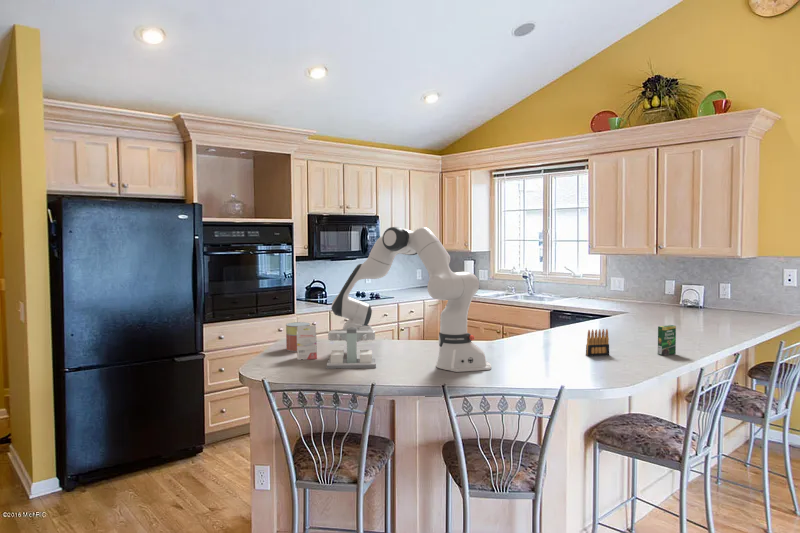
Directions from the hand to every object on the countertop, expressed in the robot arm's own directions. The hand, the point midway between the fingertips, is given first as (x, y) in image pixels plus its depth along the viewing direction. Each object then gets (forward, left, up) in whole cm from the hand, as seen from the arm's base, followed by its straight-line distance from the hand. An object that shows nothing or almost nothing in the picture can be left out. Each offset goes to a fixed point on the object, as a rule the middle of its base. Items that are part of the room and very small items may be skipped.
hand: (351, 338), depth 240 cm
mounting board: (0, +2, -11) cm, 11 cm away
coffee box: (-142, -9, -11) cm, 143 cm away
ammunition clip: (-110, -9, -11) cm, 111 cm away
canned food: (+26, -32, -11) cm, 43 cm away
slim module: (0, +1, -10) cm, 10 cm away
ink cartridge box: (+20, -12, -11) cm, 26 cm away
